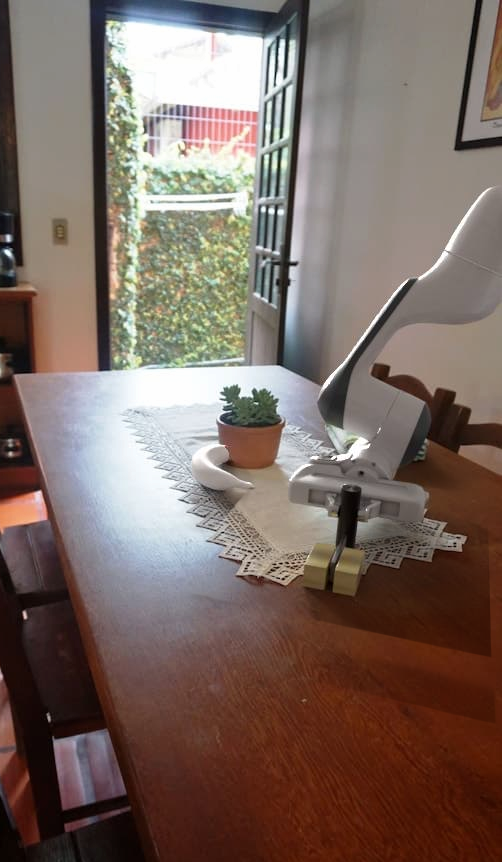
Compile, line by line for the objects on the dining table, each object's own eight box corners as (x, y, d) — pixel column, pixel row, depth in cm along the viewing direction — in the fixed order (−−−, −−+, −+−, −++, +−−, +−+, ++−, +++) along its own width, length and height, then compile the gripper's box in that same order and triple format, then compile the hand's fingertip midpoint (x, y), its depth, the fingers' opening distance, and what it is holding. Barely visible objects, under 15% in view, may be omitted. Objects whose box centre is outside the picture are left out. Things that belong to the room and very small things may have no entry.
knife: (336, 545, 101) (343, 483, 97) (355, 548, 100) (363, 486, 96) (320, 582, 91) (327, 514, 87) (341, 586, 90) (349, 517, 86)
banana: (209, 455, 140) (279, 464, 136) (176, 492, 124) (254, 504, 120) (209, 432, 138) (280, 441, 134) (176, 467, 121) (255, 479, 118)
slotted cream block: (319, 528, 110) (321, 502, 108) (388, 540, 106) (392, 514, 105) (282, 598, 90) (285, 568, 88) (367, 615, 86) (371, 584, 85)
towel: (341, 462, 138) (343, 438, 136) (323, 430, 158) (325, 409, 156) (429, 464, 139) (433, 440, 137) (400, 432, 159) (403, 410, 157)
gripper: (427, 510, 107) (419, 548, 95) (299, 490, 113) (277, 523, 101) (433, 472, 104) (426, 506, 92) (302, 454, 110) (280, 483, 98)
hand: (347, 514), depth 96 cm, fingers closed on knife, 3 cm apart
